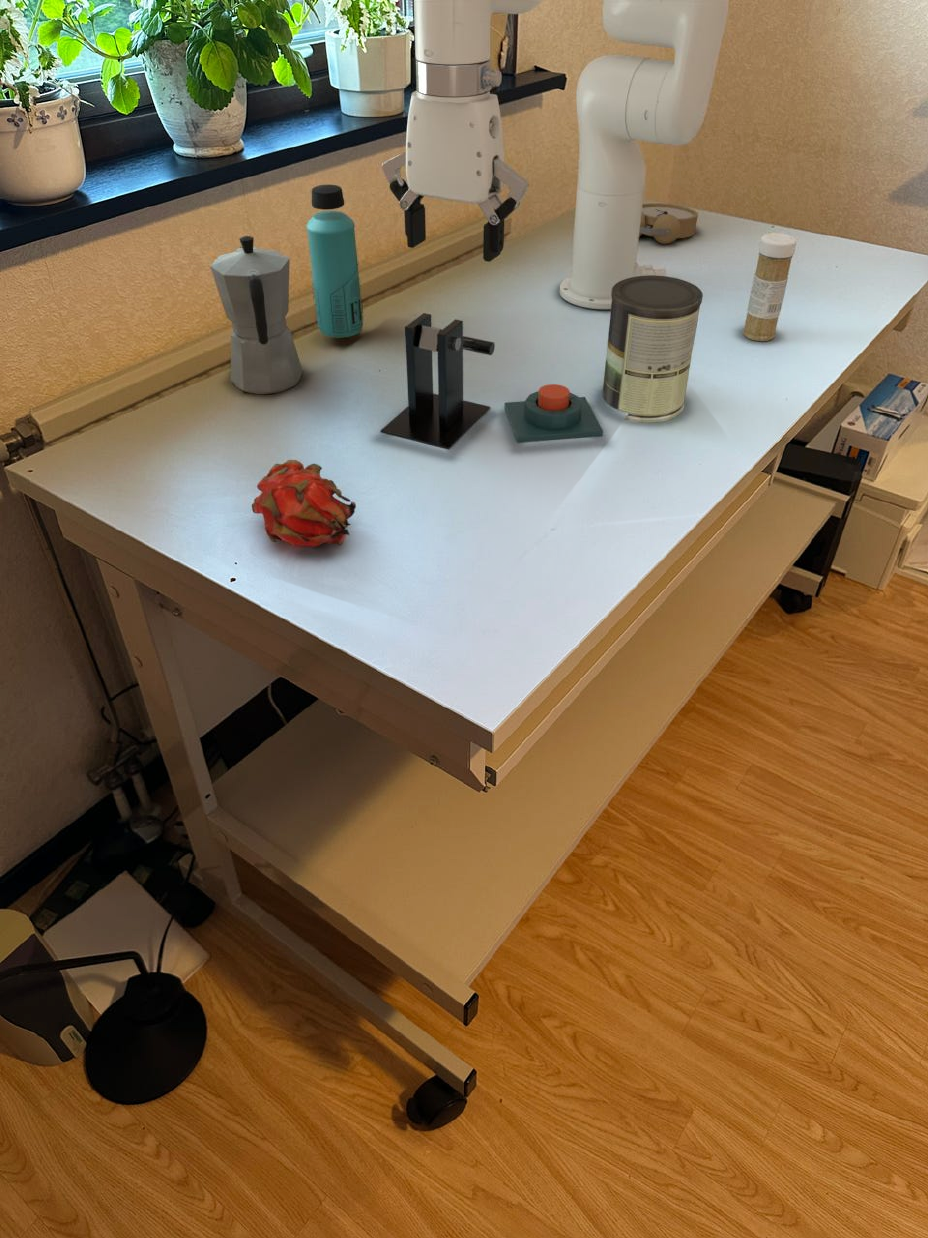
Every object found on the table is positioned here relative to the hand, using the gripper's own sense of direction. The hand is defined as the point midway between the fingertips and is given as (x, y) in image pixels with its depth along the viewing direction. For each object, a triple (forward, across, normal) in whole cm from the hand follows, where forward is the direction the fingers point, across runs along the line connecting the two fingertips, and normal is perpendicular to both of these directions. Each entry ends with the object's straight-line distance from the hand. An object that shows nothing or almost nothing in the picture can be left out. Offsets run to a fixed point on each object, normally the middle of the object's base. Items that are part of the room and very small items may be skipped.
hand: (453, 250), depth 106 cm
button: (+15, -14, +2) cm, 21 cm away
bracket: (+18, -2, +8) cm, 20 cm away
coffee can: (+18, -22, -9) cm, 30 cm away
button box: (+18, -14, +2) cm, 23 cm away
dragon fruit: (+18, -1, +34) cm, 39 cm away
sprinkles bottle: (+18, -30, -35) cm, 49 cm away
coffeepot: (+18, +23, +8) cm, 30 cm away
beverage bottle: (+18, +22, -8) cm, 30 cm away
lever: (+10, -2, +4) cm, 11 cm away
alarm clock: (+18, -4, -70) cm, 72 cm away
